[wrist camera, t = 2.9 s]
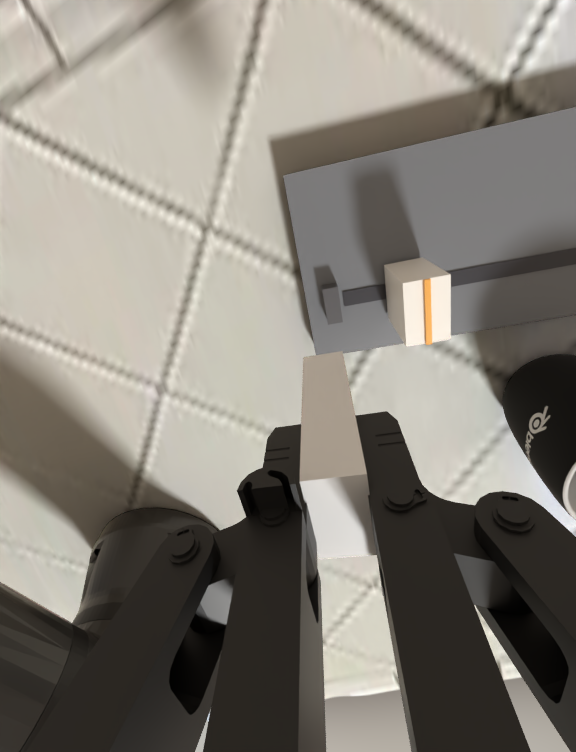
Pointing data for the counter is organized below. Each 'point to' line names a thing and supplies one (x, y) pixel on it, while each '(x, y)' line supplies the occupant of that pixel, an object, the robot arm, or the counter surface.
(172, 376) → the counter surface
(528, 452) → the mug
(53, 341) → the counter surface
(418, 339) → the fader tab
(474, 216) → the console
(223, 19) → the counter surface
